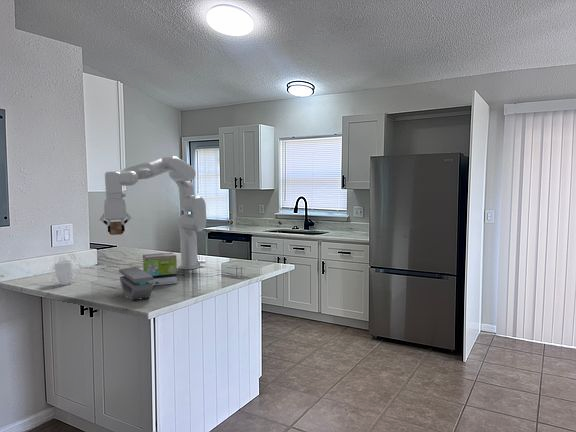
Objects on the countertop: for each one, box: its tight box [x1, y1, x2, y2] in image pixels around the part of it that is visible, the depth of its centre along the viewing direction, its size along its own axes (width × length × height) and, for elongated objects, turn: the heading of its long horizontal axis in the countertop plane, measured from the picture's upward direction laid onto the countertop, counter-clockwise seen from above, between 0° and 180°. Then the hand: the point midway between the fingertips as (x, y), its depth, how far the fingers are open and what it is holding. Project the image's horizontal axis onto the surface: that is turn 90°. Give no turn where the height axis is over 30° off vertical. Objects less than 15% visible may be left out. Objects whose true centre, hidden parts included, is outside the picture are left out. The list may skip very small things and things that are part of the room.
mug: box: [54, 260, 82, 286], centre depth 224 cm, size 12×8×11 cm
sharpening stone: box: [118, 266, 154, 301], centre depth 199 cm, size 25×8×11 cm, turn 35°
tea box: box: [142, 252, 178, 286], centre depth 223 cm, size 15×10×15 cm, turn 117°
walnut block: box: [110, 220, 123, 236], centre depth 218 cm, size 5×5×6 cm
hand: (116, 233), depth 219 cm, fingers closed on walnut block, 5 cm apart
